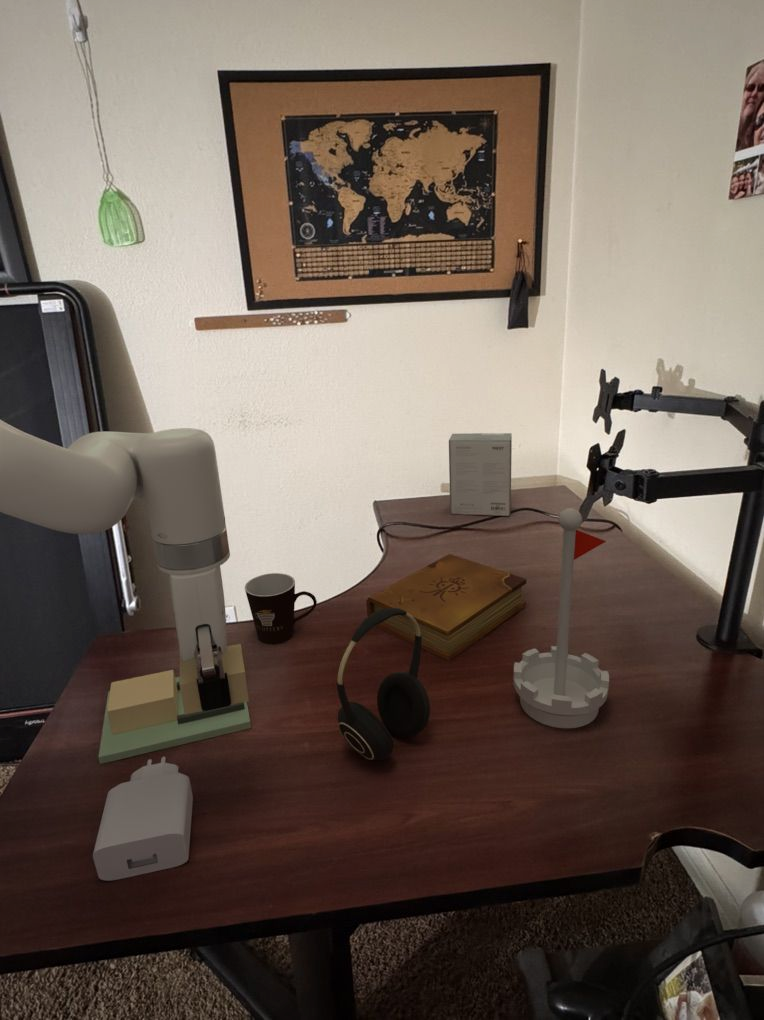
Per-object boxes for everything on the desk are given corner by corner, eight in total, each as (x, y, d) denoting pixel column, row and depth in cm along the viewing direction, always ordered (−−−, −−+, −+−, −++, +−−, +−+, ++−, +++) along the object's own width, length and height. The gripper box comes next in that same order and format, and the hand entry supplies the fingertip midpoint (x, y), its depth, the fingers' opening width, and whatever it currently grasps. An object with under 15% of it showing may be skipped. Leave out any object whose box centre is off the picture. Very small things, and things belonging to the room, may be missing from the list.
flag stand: (532, 739, 84) (542, 533, 74) (500, 681, 96) (505, 497, 86) (623, 726, 86) (646, 522, 75) (581, 670, 98) (595, 488, 87)
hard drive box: (511, 506, 166) (513, 433, 159) (509, 517, 159) (512, 440, 152) (452, 504, 170) (452, 432, 163) (449, 514, 163) (448, 439, 156)
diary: (446, 578, 129) (446, 552, 127) (525, 606, 117) (526, 578, 115) (367, 623, 114) (365, 594, 112) (448, 661, 102) (448, 630, 100)
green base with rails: (99, 764, 84) (91, 732, 82) (109, 697, 97) (102, 669, 95) (251, 728, 89) (246, 697, 87) (240, 669, 102) (236, 642, 101)
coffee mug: (241, 638, 111) (234, 588, 108) (275, 617, 118) (269, 569, 114) (289, 658, 105) (283, 605, 101) (323, 634, 111) (318, 584, 108)
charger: (196, 766, 82) (189, 864, 69) (122, 781, 81) (100, 883, 67) (191, 737, 81) (182, 831, 67) (115, 751, 79) (90, 850, 65)
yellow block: (184, 715, 69) (179, 684, 68) (184, 683, 75) (179, 655, 73) (249, 701, 71) (244, 671, 70) (244, 671, 76) (240, 643, 75)
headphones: (445, 729, 87) (444, 601, 80) (368, 790, 77) (359, 651, 70) (400, 702, 93) (395, 581, 86) (323, 756, 83) (310, 624, 76)
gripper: (158, 524, 73) (182, 655, 80) (150, 589, 58) (181, 746, 64) (223, 514, 75) (242, 644, 81) (234, 575, 60) (255, 729, 66)
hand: (215, 688), depth 73 cm, fingers closed on yellow block, 6 cm apart
